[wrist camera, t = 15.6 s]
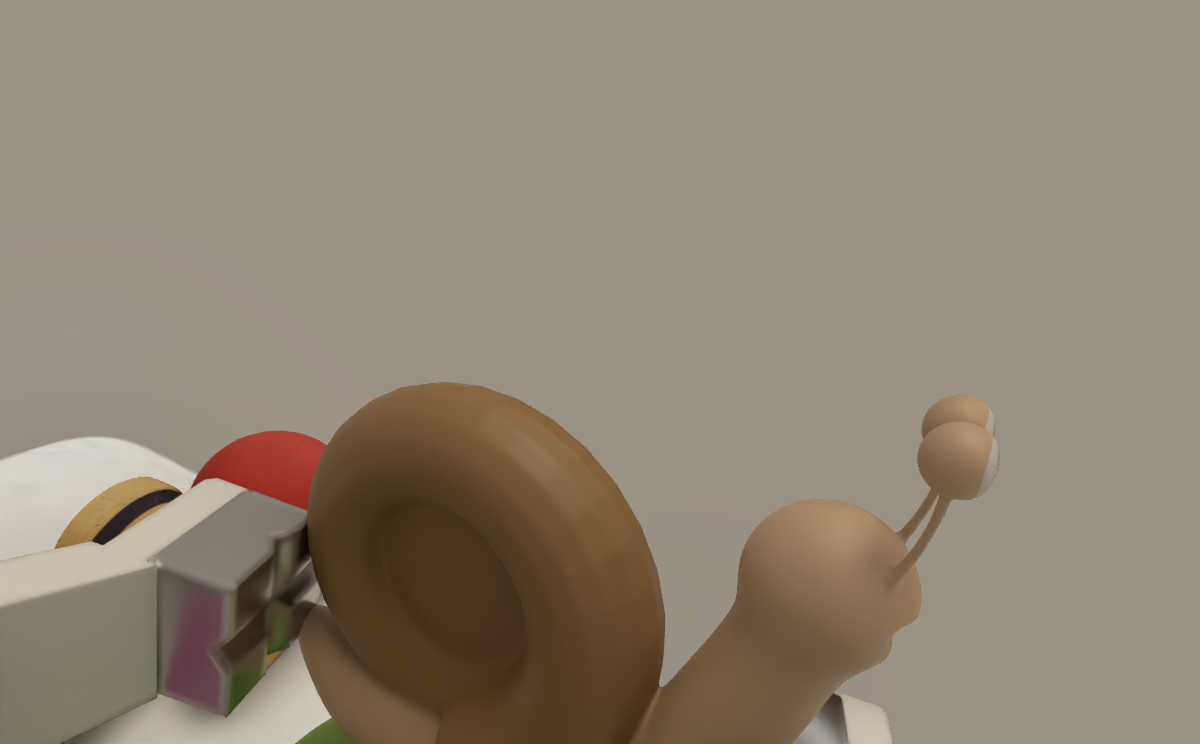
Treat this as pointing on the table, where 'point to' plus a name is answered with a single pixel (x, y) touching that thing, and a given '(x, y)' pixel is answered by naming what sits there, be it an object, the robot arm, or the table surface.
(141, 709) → the table surface
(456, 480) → the snail figurine
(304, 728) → the table surface
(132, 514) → the kendama
